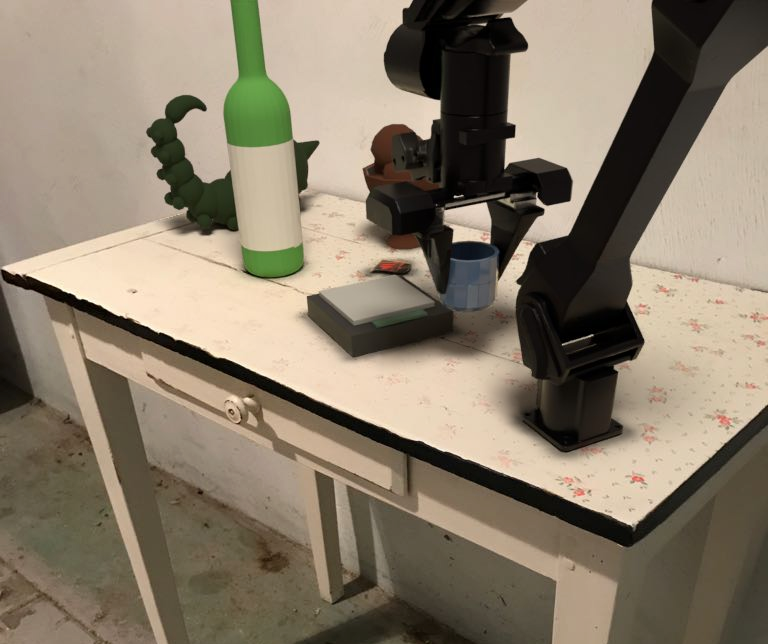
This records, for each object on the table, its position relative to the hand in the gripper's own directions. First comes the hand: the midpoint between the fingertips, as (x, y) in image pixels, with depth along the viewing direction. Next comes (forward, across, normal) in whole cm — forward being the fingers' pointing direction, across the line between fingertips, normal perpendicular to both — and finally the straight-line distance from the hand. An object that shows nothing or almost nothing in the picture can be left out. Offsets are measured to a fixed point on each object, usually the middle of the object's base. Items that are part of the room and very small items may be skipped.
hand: (468, 286), depth 79 cm
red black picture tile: (+8, -5, -26) cm, 27 cm away
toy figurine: (+8, +4, -54) cm, 55 cm away
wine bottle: (+8, +8, -34) cm, 36 cm away
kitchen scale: (+8, +4, -12) cm, 15 cm away
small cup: (+2, 0, 0) cm, 2 cm away
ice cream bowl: (+8, -11, -34) cm, 36 cm away
